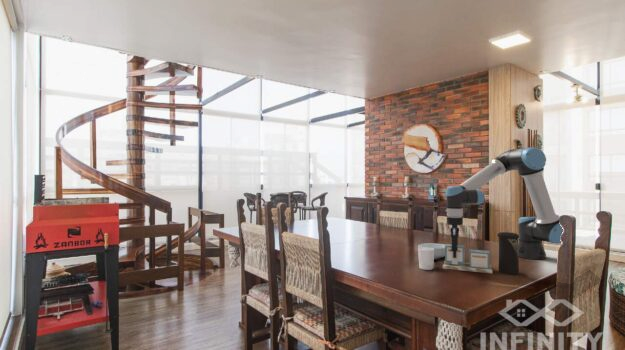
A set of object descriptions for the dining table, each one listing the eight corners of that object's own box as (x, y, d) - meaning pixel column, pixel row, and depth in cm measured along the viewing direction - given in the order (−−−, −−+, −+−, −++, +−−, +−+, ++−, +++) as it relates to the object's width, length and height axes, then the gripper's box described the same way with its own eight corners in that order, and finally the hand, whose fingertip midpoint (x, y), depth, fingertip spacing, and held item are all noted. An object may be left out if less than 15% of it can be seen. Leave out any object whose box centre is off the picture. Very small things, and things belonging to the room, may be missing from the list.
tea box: (445, 261, 180) (445, 243, 180) (464, 263, 176) (464, 245, 176) (445, 263, 175) (444, 245, 175) (464, 265, 171) (464, 247, 171)
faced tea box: (469, 267, 175) (469, 249, 175) (489, 269, 171) (489, 250, 171) (469, 269, 170) (468, 251, 170) (489, 271, 167) (489, 253, 167)
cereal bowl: (444, 254, 208) (444, 242, 208) (453, 261, 192) (453, 248, 192) (415, 254, 210) (415, 242, 210) (421, 260, 193) (421, 248, 193)
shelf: (491, 270, 173) (491, 265, 173) (492, 275, 164) (492, 270, 164) (444, 265, 182) (444, 260, 182) (442, 270, 173) (442, 265, 173)
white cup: (434, 267, 180) (434, 247, 180) (434, 270, 173) (434, 250, 173) (418, 265, 183) (418, 246, 183) (417, 269, 175) (417, 249, 175)
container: (519, 278, 159) (518, 234, 160) (497, 275, 164) (496, 232, 164) (519, 273, 167) (519, 231, 167) (498, 271, 172) (498, 230, 172)
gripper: (447, 214, 185) (448, 258, 185) (445, 218, 169) (445, 266, 169) (463, 215, 182) (463, 259, 182) (462, 219, 166) (462, 267, 166)
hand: (455, 262), depth 176 cm, fingers closed on tea box, 5 cm apart
